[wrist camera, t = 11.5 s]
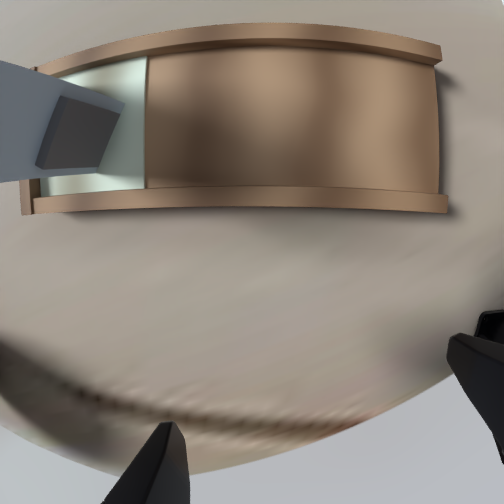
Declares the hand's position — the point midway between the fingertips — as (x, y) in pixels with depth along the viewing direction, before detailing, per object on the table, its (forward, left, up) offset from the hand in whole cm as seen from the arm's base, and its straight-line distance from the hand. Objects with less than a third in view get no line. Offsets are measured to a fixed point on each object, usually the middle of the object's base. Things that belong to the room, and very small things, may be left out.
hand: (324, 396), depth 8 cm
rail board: (+5, -9, -12) cm, 16 cm away
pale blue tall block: (+13, -9, -10) cm, 19 cm away
